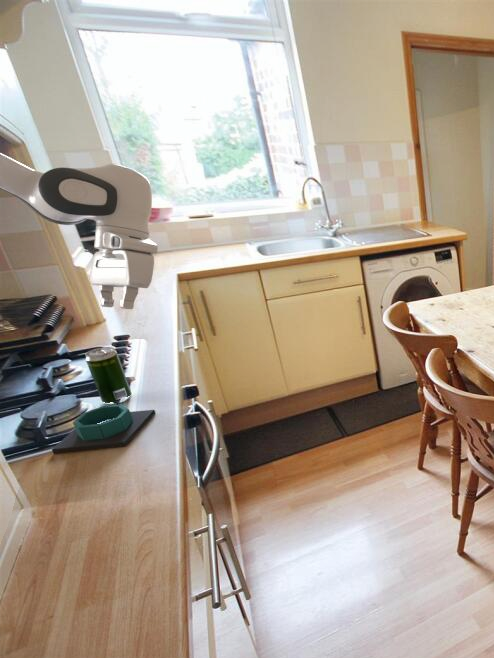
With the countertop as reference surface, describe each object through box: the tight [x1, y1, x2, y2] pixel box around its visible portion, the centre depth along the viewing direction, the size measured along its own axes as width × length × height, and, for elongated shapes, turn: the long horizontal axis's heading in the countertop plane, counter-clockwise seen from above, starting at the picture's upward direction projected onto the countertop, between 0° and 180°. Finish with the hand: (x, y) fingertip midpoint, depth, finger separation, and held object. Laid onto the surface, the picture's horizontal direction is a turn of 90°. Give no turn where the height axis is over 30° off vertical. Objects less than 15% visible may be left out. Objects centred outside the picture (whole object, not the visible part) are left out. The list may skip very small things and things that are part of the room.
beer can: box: [84, 346, 133, 403], centre depth 103 cm, size 5×5×12 cm
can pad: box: [51, 403, 156, 455], centre depth 93 cm, size 12×12×4 cm
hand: (116, 308), depth 100 cm, fingers open, 8 cm apart
